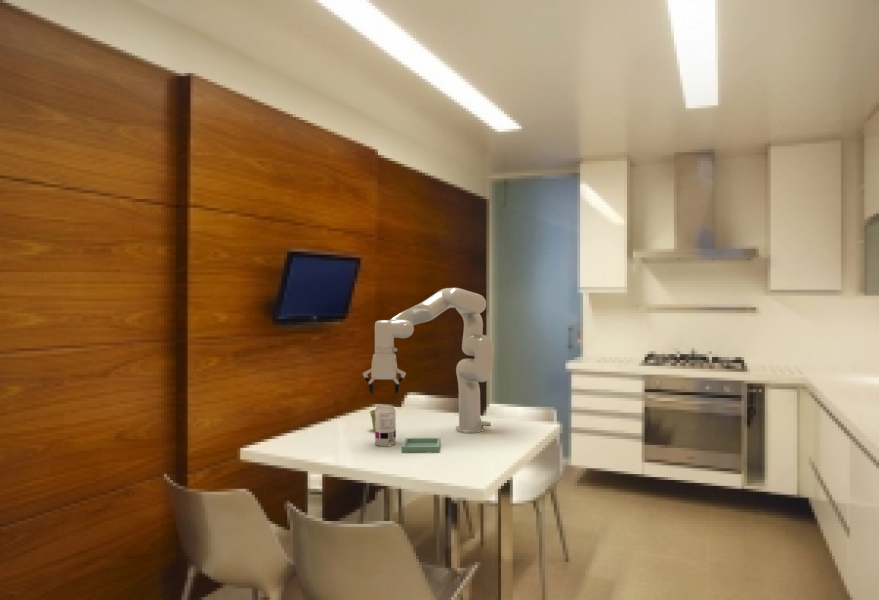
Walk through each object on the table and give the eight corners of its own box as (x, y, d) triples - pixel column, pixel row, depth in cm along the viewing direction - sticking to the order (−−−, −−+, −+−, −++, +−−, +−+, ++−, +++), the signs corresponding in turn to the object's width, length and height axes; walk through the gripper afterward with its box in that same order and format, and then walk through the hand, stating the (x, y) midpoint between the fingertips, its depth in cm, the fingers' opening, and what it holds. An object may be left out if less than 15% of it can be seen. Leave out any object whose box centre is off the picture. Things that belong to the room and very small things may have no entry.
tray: (440, 443, 216) (440, 437, 216) (438, 452, 202) (438, 446, 202) (405, 443, 217) (405, 438, 217) (401, 452, 203) (401, 446, 203)
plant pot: (389, 432, 237) (389, 413, 237) (368, 433, 237) (368, 413, 237) (391, 428, 246) (391, 409, 246) (371, 428, 246) (371, 409, 246)
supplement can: (371, 445, 214) (370, 407, 215) (382, 441, 222) (382, 404, 222) (388, 447, 211) (387, 409, 211) (399, 443, 218) (399, 405, 218)
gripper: (406, 350, 220) (406, 392, 220) (364, 350, 221) (364, 392, 220) (404, 351, 213) (404, 395, 212) (361, 351, 213) (361, 395, 213)
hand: (384, 393), depth 216 cm, fingers open, 9 cm apart
